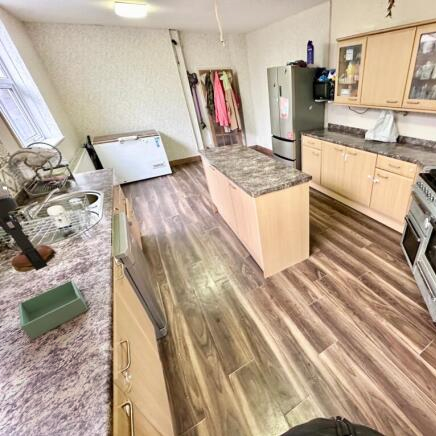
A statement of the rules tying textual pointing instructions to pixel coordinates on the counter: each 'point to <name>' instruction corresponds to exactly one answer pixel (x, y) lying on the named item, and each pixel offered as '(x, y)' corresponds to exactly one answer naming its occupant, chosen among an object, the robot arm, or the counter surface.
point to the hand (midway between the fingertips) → (37, 262)
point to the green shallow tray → (51, 309)
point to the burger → (24, 264)
